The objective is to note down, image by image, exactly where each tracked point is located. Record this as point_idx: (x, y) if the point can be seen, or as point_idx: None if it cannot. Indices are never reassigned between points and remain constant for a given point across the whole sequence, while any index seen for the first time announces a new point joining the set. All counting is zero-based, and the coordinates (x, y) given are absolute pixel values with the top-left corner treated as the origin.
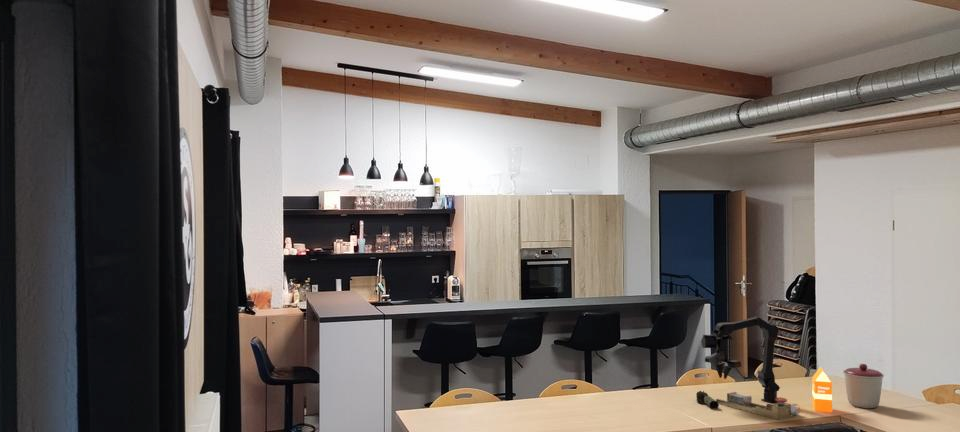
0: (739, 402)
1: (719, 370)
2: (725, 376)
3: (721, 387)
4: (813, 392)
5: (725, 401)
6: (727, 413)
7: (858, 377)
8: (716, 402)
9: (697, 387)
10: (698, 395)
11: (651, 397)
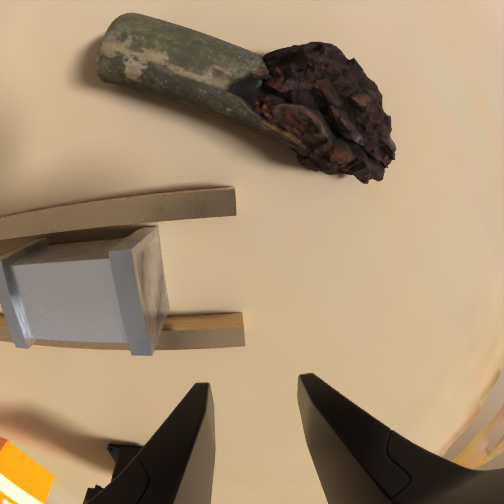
0: (50, 252)
1: (350, 473)
2: (175, 414)
3: (419, 435)
4: (15, 497)
5: (138, 200)
6: (26, 75)
7: None
8: (117, 71)
9: (487, 350)
10: (314, 42)
11: (478, 6)
